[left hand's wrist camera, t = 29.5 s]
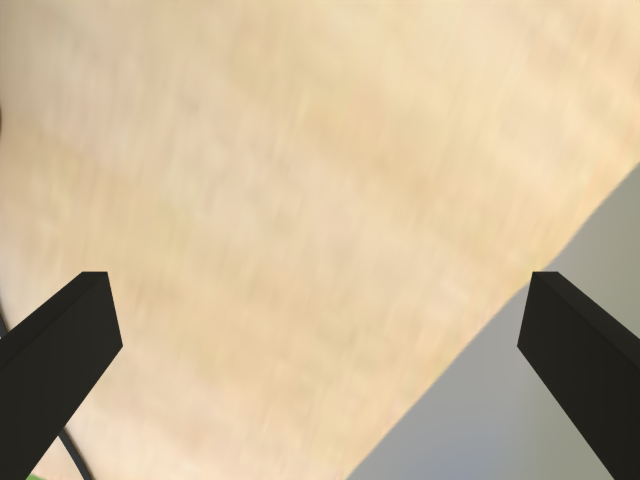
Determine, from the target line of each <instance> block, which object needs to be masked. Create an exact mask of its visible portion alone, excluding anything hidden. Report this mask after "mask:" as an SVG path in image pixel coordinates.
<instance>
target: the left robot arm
mask: <svg viewBox="0 0 640 480" xmlns="http://www.w3.org/2000/svg"><path fill="white" fill-rule="evenodd" d="M0 337H1V339H0V480H26V478H27V477H28V476H29V474H30V473H31V472H32V470H33V469H34V467H35V466H36V465H37V463H38V462H39V461H40V459H41V458H42V456H43V455H44V454H45V452H46V451H47V450H48V448H49V447H50V445H51V444H52V443H53V441H54V440H55V439H56V437H57V436H59V438H60V439H61V441H62V442H63V444H64V446H65V447H66V449H67V451H68V452H69V454H70V456H71V457H72V459H73V461H74V462H75V464H76V466H77V468H78V469H79V471H80V473H81V475H82V477H83V479H84V480H92V478H91V476H90V474H89V472H88V470H87V468H86V466H85V464H84V463H83V461H82V459H81V457H80V455H79V454H78V452H77V450H76V449H75V447H74V445H73V444H72V442H71V440H70V439H69V437H68V435H67V434H66V432H65V430H64V429H63V428H64V426H65V425H66V424H67V422H68V421H69V419H70V418H71V417H72V415H73V414H74V413H75V411H76V410H77V409H78V407H79V406H80V404H81V403H82V402H83V400H84V399H85V398H86V396H87V395H88V393H89V392H90V391H91V389H92V388H93V387H94V385H95V384H96V383H97V381H98V380H99V378H100V377H101V376H102V374H103V373H104V372H105V370H106V369H107V367H108V366H109V365H110V363H111V362H112V361H113V359H114V358H115V357H116V355H117V354H118V352H119V351H120V350H121V348H122V347H123V344H122V339H121V335H120V330H119V325H118V320H117V316H116V311H115V306H114V301H113V297H112V292H111V287H110V282H109V278H108V273H107V272H81V273H80V274H79V275H78V276H77V277H75V278H74V279H73V280H72V281H70V282H69V283H68V284H67V285H66V286H64V287H63V288H62V289H61V290H59V291H58V292H57V293H56V294H55V295H53V296H52V297H51V298H50V299H49V300H47V301H46V302H45V303H44V304H42V305H41V306H40V307H39V308H38V309H36V310H35V311H34V312H33V313H31V314H30V315H29V316H28V317H27V318H25V319H24V320H23V321H22V322H21V323H19V324H18V325H17V326H16V327H14V328H13V329H12V330H11V331H10V332H8V331H7V329H6V326H5V324H4V321H3V319H2V316H1V313H0ZM517 347H518V348H519V350H520V351H521V352H522V354H523V355H524V357H525V358H526V359H527V361H528V362H529V363H530V365H531V366H532V367H533V369H534V370H535V371H536V373H537V374H538V376H539V377H540V378H541V380H542V381H543V383H544V384H545V385H546V387H547V388H548V389H549V391H550V392H551V393H552V395H553V396H554V398H555V399H556V400H557V402H558V403H559V404H560V406H561V407H562V409H563V410H564V411H565V413H566V414H567V415H568V417H569V418H570V419H571V421H572V422H573V423H574V425H575V426H576V428H577V429H578V430H579V432H580V433H581V434H582V436H583V437H584V439H585V440H586V441H587V443H588V444H589V445H590V447H591V448H592V450H593V451H594V452H595V454H596V455H597V456H598V458H599V459H600V461H601V462H602V463H603V465H604V466H605V467H606V469H607V470H608V471H609V473H610V474H611V476H612V477H613V478H614V480H640V339H639V338H638V337H637V336H635V335H634V334H633V333H632V332H630V331H629V330H628V329H627V328H626V327H624V326H623V325H622V324H621V323H619V322H618V321H617V320H616V319H615V318H613V317H612V316H611V315H610V314H609V313H607V312H606V311H605V310H604V309H602V308H601V307H600V306H599V305H598V304H596V303H595V302H594V301H593V300H591V299H590V298H589V297H588V296H587V295H585V294H584V293H583V292H582V291H581V290H579V289H578V288H577V287H576V286H574V285H573V284H572V283H571V282H570V281H568V280H567V279H566V278H565V277H563V276H562V275H561V274H560V273H559V272H533V273H532V278H531V282H530V287H529V292H528V297H527V301H526V306H525V311H524V316H523V320H522V325H521V330H520V335H519V339H518V344H517Z"/></svg>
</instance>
